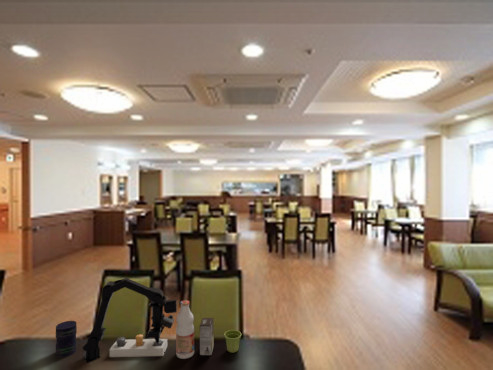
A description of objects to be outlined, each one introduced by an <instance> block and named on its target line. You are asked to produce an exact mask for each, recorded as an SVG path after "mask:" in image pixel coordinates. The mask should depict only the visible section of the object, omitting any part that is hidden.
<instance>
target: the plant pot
mask: <svg viewBox="0 0 493 370" xmlns="http://www.w3.org/2000/svg"><path fill="white" fill-rule="evenodd" d="M241 337H242V333H241V331H239V330H236V329H229V330H227V331H225V332H224V338H225V343H226V351H227V352H229V353H236V352H238V351H239V346H240V341H241Z"/></svg>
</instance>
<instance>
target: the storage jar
mask: <svg viewBox="0 0 493 370" xmlns="http://www.w3.org/2000/svg"><path fill="white" fill-rule="evenodd" d="M77 328H78V327H77V321H75V320H66V321H62V322H60V323H58V324H57V325H55V340H56V342H55V343H56V344H55V356H56V357H58V358H66V357H70V356H72V355H74V354H75V353H76V352H77V350H78V349H77V346H78V341H77V340H78V339H77V332H78V331H77Z"/></svg>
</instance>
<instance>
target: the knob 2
mask: <svg viewBox="0 0 493 370" xmlns="http://www.w3.org/2000/svg"><path fill="white" fill-rule="evenodd" d="M154 346H162V341H161V340H159V343H157V342H156V341H155V342H154Z"/></svg>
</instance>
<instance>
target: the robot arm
mask: <svg viewBox="0 0 493 370" xmlns="http://www.w3.org/2000/svg"><path fill="white" fill-rule="evenodd" d="M124 288H126V289H129V290H131V291H132V292H135V293H137V294H139V295H140V294H141V295H142V296H144V297H146V298H147V299H148V300H149V301H150V302H149V304H148V308H151V317H150V320H151V321H152V323H151V325H150V329H149V330H148V332H147V334H146V337H147V339H155V340H156V342H157V343H159V340H160V339H161V336H162V333H163V331H164V329H165V328H167V329H172V327H173V323H174V321H175V319H174V315H172V313H175V314H176V313H177V312H178V303H177V299H167V297H166V296H165V294H164V291H163V290H162V289H160V288H156V287H149V286H146V285H144V284H142V283H139V282H137V281H135V280H133V279H130V278H128V277H124V278H122V279H121V278H120V279H117V280H114V281H112V280H110V281H107V282H106V283H105V285H104V286H103V287H102V289H101V303H100V305H99V308H98V313H97V316H96V319H95V324H94V327H93V328H92V330H91V332H90V334H89V336H88V338H87V340H86V341H85V343H84V344H83V346H82V349H83V357H82V359H83V360H84V361H85V362H86V363H90V362H92V361H94V360H97V359H100V358H101V355H100V352H101V349H100V348H101V347H100V344H99V343H100V342H101V341H102V340H103V338H104V337H105V332H106V329H107V328H106V327H104V324H105V320H106V316H107V312H108V310H109V309H108V308H109V306H110V302H111V299H112V297H113V295H114V293H116V292H118V291H121V289H124ZM165 313H166V314H169V315H168V316H165Z"/></svg>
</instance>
